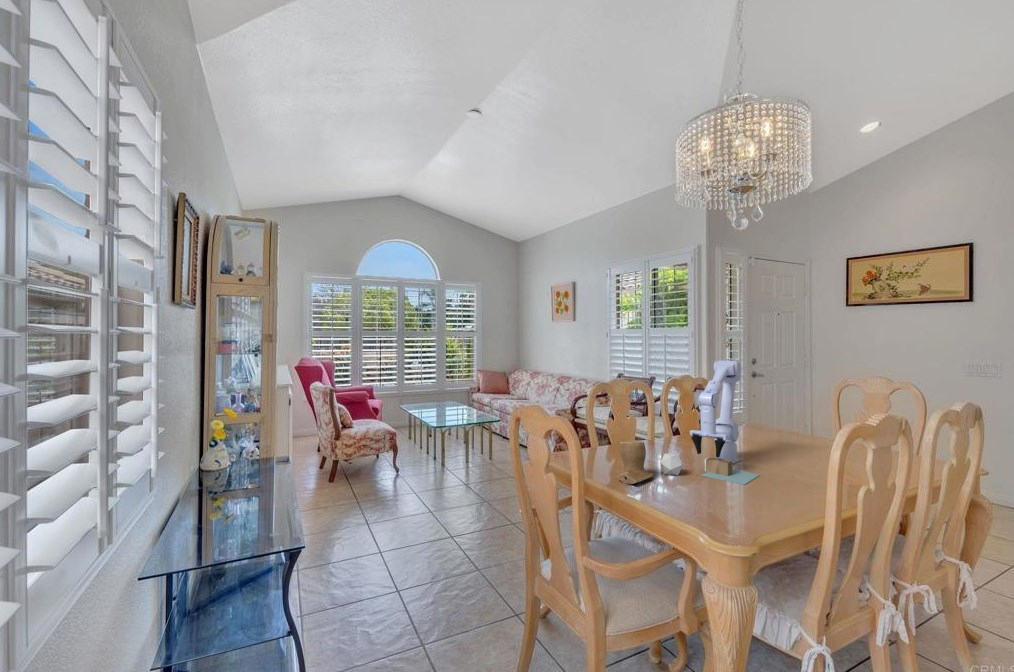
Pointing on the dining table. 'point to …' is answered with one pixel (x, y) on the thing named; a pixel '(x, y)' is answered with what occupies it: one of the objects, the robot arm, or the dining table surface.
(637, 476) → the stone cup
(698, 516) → the dining table surface
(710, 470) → the walnut block
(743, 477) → the mat
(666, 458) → the die
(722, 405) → the robot arm
